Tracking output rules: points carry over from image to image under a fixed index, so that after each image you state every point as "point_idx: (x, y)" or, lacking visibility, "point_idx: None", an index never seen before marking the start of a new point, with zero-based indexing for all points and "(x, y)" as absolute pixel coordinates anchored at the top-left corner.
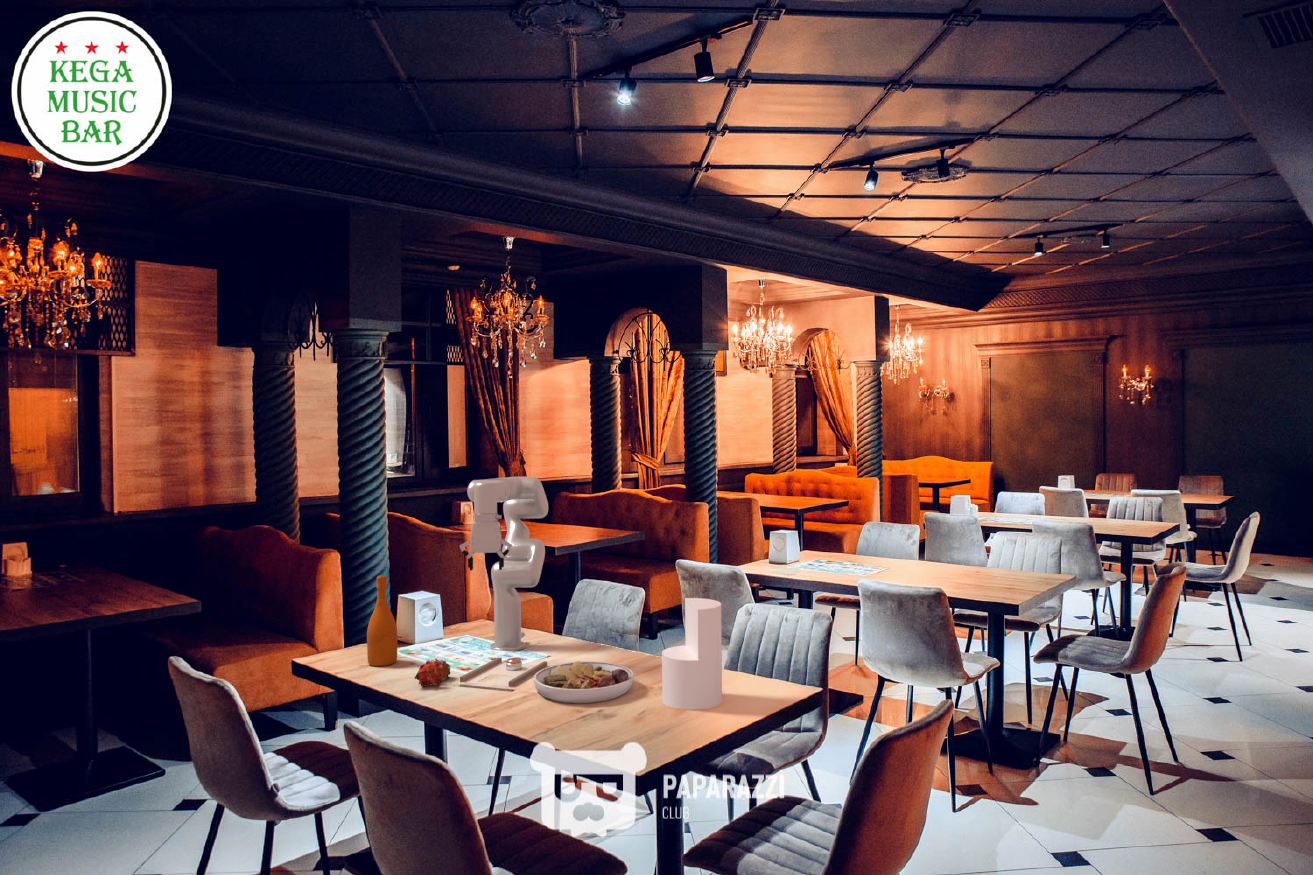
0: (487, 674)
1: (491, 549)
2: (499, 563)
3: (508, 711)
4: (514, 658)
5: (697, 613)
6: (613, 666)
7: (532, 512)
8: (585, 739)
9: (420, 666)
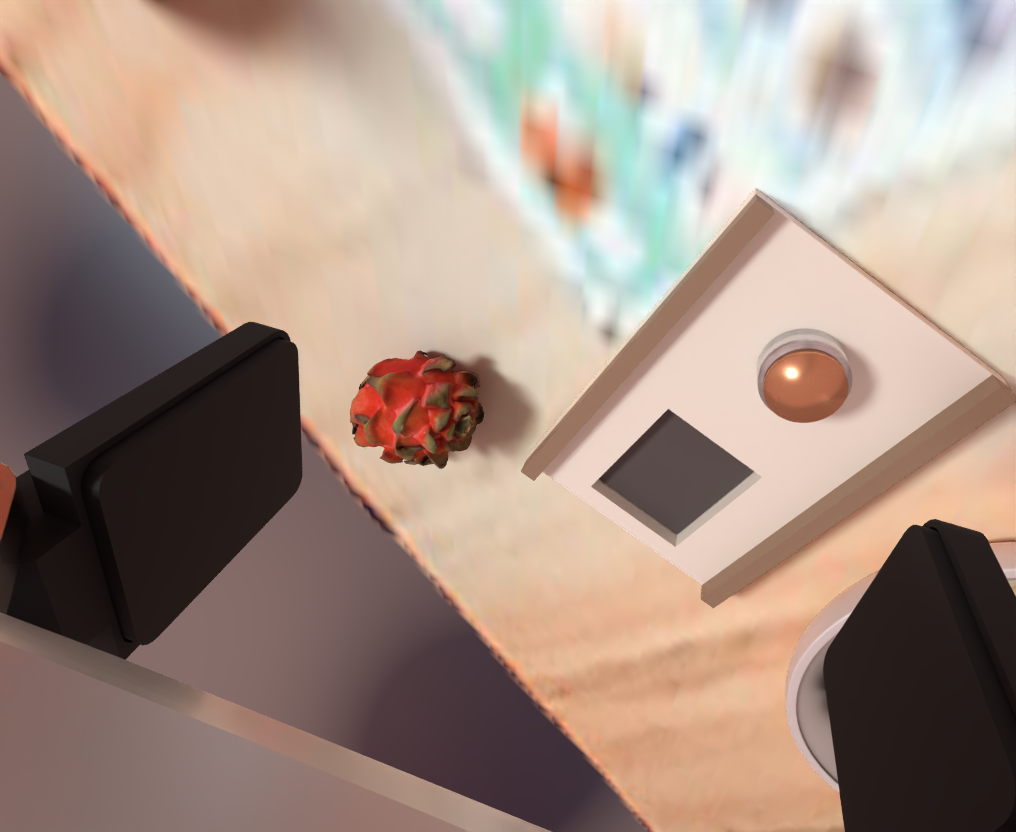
0: (649, 407)
1: None
2: (853, 795)
3: (659, 711)
4: (815, 369)
5: None
6: None
7: None
8: None
9: (351, 419)
